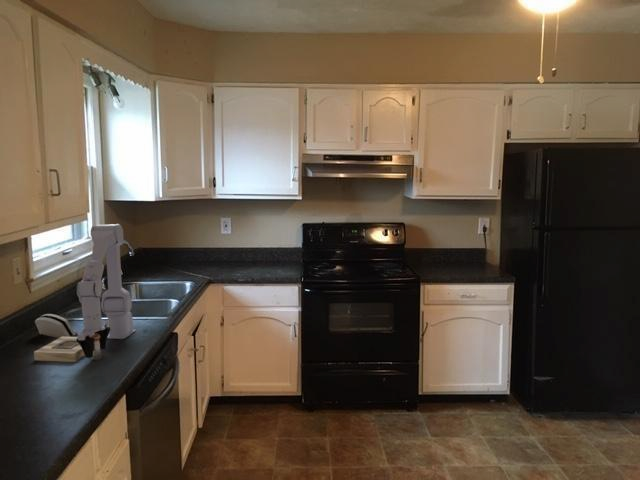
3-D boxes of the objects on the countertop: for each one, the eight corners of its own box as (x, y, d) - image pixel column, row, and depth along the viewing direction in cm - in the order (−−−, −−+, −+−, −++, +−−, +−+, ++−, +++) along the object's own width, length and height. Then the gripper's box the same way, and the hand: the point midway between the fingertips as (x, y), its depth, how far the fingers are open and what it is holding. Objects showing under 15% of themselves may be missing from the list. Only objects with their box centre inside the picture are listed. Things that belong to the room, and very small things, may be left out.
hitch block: (63, 344, 184) (62, 335, 183) (100, 345, 182) (99, 336, 181) (34, 360, 169) (33, 351, 168) (75, 361, 167) (74, 352, 166)
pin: (94, 355, 172) (92, 333, 170) (104, 356, 171) (102, 333, 170) (87, 360, 168) (85, 337, 167) (98, 360, 167) (96, 337, 166)
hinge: (79, 335, 193) (69, 314, 188) (70, 343, 189) (59, 322, 185) (51, 329, 200) (40, 309, 196) (41, 337, 196) (30, 317, 192)
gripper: (90, 321, 159) (94, 361, 162) (114, 308, 174) (118, 345, 176) (70, 321, 160) (74, 361, 163) (96, 308, 175) (99, 344, 177)
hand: (95, 353), depth 169 cm, fingers open, 7 cm apart
